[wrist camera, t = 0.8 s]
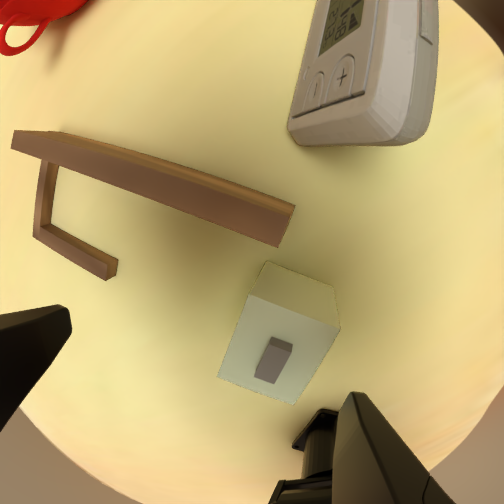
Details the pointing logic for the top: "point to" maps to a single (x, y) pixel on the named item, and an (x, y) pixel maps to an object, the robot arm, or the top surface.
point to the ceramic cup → (32, 18)
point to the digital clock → (367, 73)
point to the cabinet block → (281, 334)
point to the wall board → (143, 193)
